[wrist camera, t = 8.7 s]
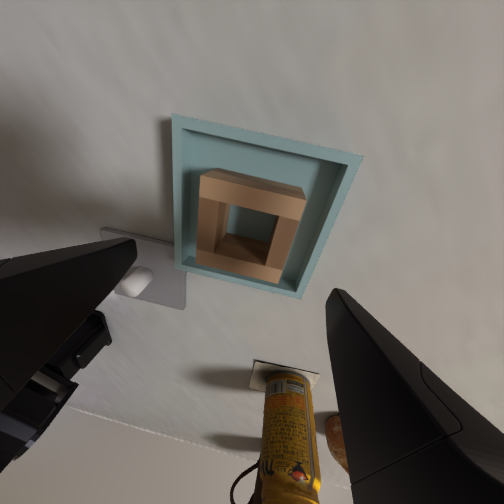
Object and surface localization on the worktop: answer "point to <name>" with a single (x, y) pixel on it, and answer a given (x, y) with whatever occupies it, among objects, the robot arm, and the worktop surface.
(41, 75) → the worktop surface
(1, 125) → the worktop surface
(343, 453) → the bread roll
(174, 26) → the worktop surface
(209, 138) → the tray
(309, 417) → the condiment
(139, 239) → the gray plate with knob
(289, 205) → the ring
